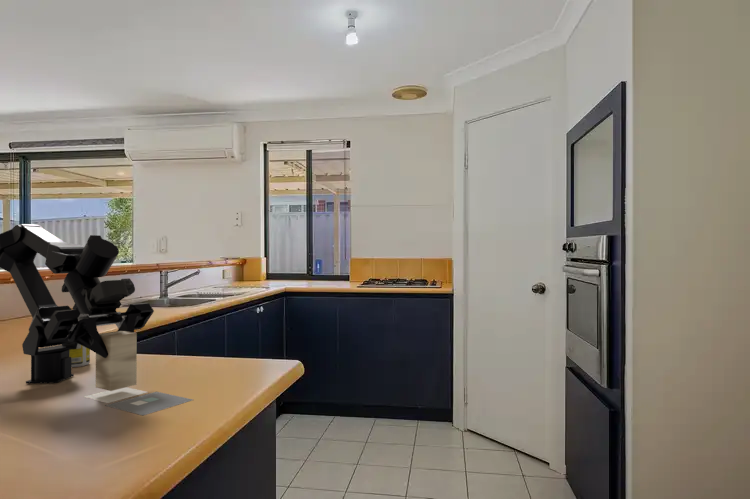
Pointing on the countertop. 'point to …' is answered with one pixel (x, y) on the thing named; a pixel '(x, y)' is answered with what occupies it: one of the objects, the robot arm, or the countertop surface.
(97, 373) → the birch block
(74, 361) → the supplement bottle
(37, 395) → the countertop surface
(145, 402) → the gray tile
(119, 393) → the pad
